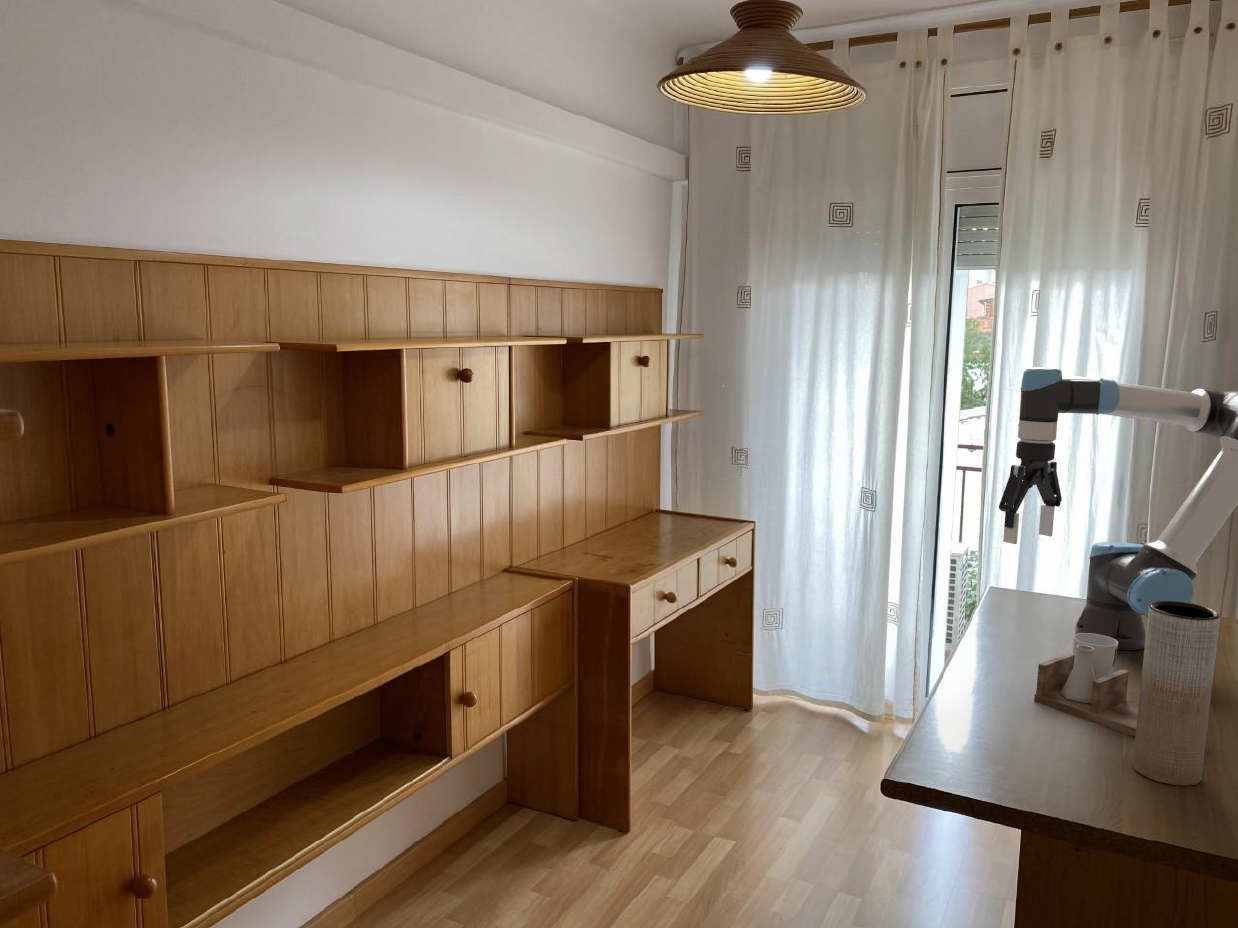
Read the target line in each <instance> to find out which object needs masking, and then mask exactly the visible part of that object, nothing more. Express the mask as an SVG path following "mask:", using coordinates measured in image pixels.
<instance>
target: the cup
mask: <svg viewBox="0 0 1238 928" xmlns="http://www.w3.org/2000/svg"><path fill="white" fill-rule="evenodd" d="M1072 637H1073V638H1072V639H1073V641H1072V644H1073V645H1072V646H1073V647H1072V654H1073V655H1075V659H1074V665H1075V662H1076V659H1077V652H1078V650H1077V649H1076V646H1077V645H1087V646H1092V647H1093V648H1095V650H1094V652H1093V655H1092V662H1093V669H1094V673H1095V677H1096V680H1097V679H1099V678H1102V677H1104V676H1107V675H1109V674H1112V673H1113V671H1114V667H1115V664H1116V659H1117V652H1118V650H1117V647H1118V641H1117V640H1115V639H1113V638H1111V637H1108V636H1104V635H1099V634H1092V633H1080V634H1075V633H1074V635H1073V636H1072Z"/></svg>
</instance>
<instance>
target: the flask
mask: <svg viewBox="0 0 1238 928" xmlns="http://www.w3.org/2000/svg"><path fill="white" fill-rule="evenodd" d="M1076 649H1077V650H1078V652H1077V659H1076V662H1075V665H1074V667H1073V670H1072V672H1071V674H1070V676H1069V678H1068V680H1067V681H1066V683H1065V685H1064V687H1063V689H1062V691H1061V694H1062V695H1063V696H1064V697H1065V698H1066V699H1070V700H1074V701H1078V702H1082V703H1091V695H1092V685H1093V681H1094V680H1096V677H1095V673H1094V669H1093V662H1092V655H1093V652H1094V650H1095V648H1093V647H1092V646H1087V645H1077V646H1076Z"/></svg>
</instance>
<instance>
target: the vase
mask: <svg viewBox="0 0 1238 928" xmlns="http://www.w3.org/2000/svg"><path fill="white" fill-rule="evenodd" d="M1220 620H1221V614H1220V613H1219V612H1218V611H1216V610H1215V609H1213V608H1210V607H1207V606H1204V605H1201V604H1197V603H1192V602H1191V603H1186V602H1178V601H1157V602H1153V603H1151V604H1150V605H1149V612H1148V617H1147V622H1146V623H1147V624H1146V630H1147V631H1146V640H1145V648H1144V651H1143V659H1142V660H1143V663H1142V669H1141V671H1142V672H1141V680H1140V690H1139V701H1138V704H1139V707H1138V717H1137V726H1136V736H1135V737H1134V746H1133V755H1132V756H1133V757H1132V767H1133V768H1134V770H1135V771H1136V773H1138V774H1140V775H1141V776H1143V777H1145V778H1147V779H1149V780H1151V781H1154V782H1157V783H1160V784H1165V785H1171V786H1176V787H1177V786H1178V787H1179V786H1181V787H1188V786H1195V785H1198V784H1199V783H1200V782H1201V780H1202V775H1203V770H1204V768H1203V767H1204V762H1205V761H1204V759H1205V753H1206V752H1205V751H1206V750H1205V749H1206V742H1207V735H1208V724H1209V719H1210V708H1211V699H1212V691H1213V690H1212V689H1213V682H1214V674H1215V673H1214V672H1215V665H1216V664H1215V663H1216V658H1217V657H1216V656H1217V649H1218V648H1217V647H1218V640H1219V631H1220Z"/></svg>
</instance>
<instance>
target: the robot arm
mask: <svg viewBox="0 0 1238 928" xmlns="http://www.w3.org/2000/svg"><path fill="white" fill-rule="evenodd" d="M1062 373H1063V372H1062V370H1061V368H1057V367H1044V366H1043V367H1040V366H1039V367H1037V366H1034V367H1033V366H1032V367H1031V366H1030V367H1027V368H1025V370H1024V371H1023V374H1022V379H1021V386H1020V401H1019V402H1020V403H1019V417H1018V419H1019V420H1018V423H1017V424H1018V425H1017V427H1018V431H1017V438H1018V439H1020V440H1018V441H1017V442H1016V451H1015V457H1016V458H1017V459H1019V460H1020V464H1012V465H1011V467H1010V471H1009V476H1008V478H1007V479H1008V480H1007V482H1006V485H1005V488H1004V490H1003V494H1002V496H1001V500H1000V502H999V504H998V509H999V510H1000V511H1001V512H1004V525H1003V526H1004V528H1003V537H1002V539H1003V540H1002V542H1004V543H1007V544H1012V545H1017V544H1018V533H1019V521H1020V513H1019V512H1018V510H1019V508H1020V506H1021V505H1022V502H1023V501H1024V499H1025V498H1026V496H1027V494H1028V491H1029V489H1031V488H1033V486H1036V488H1037V490H1038V492H1039V495H1040V497H1041V498H1040V499H1041V501H1042V502H1043V504H1041V506H1040V514H1039V515H1040V516H1039V527H1038V535H1041V536H1046V537H1053V530H1054V518H1055V507H1058V508H1059V507H1060V506H1061V503H1062V500H1063V497H1062V493H1061V487H1060V483H1059V477H1058V472H1057V470H1058V467H1057V466H1058V463H1057V461H1053V460H1054V459H1055V452H1056V443H1054V441H1056V439H1057V430H1058V418H1059V414H1082V415H1083V414H1085V415H1087V414H1088V415H1091V414H1092V415H1096V416H1098V415H1107V416H1112V417H1119V418H1120V417H1121V418H1127V419H1135V420H1142V421H1147V422H1157V423H1162V424H1167V425H1168V424H1170V425H1177V426H1181V427H1184V428H1185V429H1186V430H1187V431H1188V432H1194V433H1200V434H1205V435H1209V436H1212V437H1216V438H1218V439H1219V442H1220V446H1221V449H1220V451H1218V454H1217V455H1216V457H1215V458H1214V459H1213V461H1212V462H1211V463H1210V465H1209V467H1208V468H1206V471H1205V472H1204V473H1203V475H1202V476H1201V478H1200V479H1199V480H1198V481H1197V484H1195V486H1194V487H1193V489H1192V490H1191V492H1190V493H1189V495H1188V496H1187V497H1186V498H1185V500H1184V501H1183V503H1182V504H1181V506H1180V507H1179V509H1178V510H1177V512H1176V513H1175V514H1174V515H1173V517H1172V518H1171V520H1170V522H1169V523H1168V524H1167V526H1166V527H1165V528H1164V529H1163V531H1162V532H1161V534H1160V535H1159V537H1158V538H1157V539H1156V540H1155V541H1152V542H1147V543H1144V544H1139V543H1132V542H1122V541H1121V542H1120V541H1118V542H1117V541H1116V542H1115V541H1102V542H1101V541H1100V542H1096V543H1094V544H1093V545H1092V546H1091V550H1090V554H1089V566H1088V576H1087V577H1088V578H1087V588H1086V589H1087V591H1086V598H1085V599H1086V600H1085V605H1084V608H1083V609H1082V611H1081V613H1080V615H1079V617H1078V619H1077V622H1076V624H1075V628H1074V635H1075V634H1080V633H1092V634H1099V635H1104V636H1108V637H1111V638H1113V639H1115V640H1117V641H1118V647H1117V651H1118V650H1120V651H1136V650H1142V649H1145V640H1146V631H1147V625H1146V623H1145V619H1144V617H1147V618H1148V612H1149V605H1150V604H1151V603H1153V602H1157V601H1178V602H1186V603H1192V602H1193V600H1194V596H1195V592H1194V584H1193V581H1194V580H1195V578H1196V577H1197V576H1198V569H1197V565H1196V564H1197V562H1198V561H1199V559H1200V557H1201V556H1202V555H1203V553H1204V552H1205V551H1206V549H1207V548H1208V547H1209V545H1210V544H1211V542H1212V541H1213V540H1214V538H1215V537H1216V536H1217V534H1218V532H1220V529H1222V527H1223V526H1224V524H1225V523H1226V521H1228V519H1229V517H1230V516H1231V514H1232V513H1233V512H1234V510H1235V509H1236V507H1237V506H1238V390H1215V389H1213V390H1211V389H1201V388H1196V389H1194V390H1192V391H1183V390H1177V389H1169V388H1161V387H1154V386H1147V385H1143V384H1142V385H1140V384H1132V383H1126V382H1119V381H1116V380H1114V379H1113V378H1104V377H1084V376H1075V375H1067V374H1062Z"/></svg>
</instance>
